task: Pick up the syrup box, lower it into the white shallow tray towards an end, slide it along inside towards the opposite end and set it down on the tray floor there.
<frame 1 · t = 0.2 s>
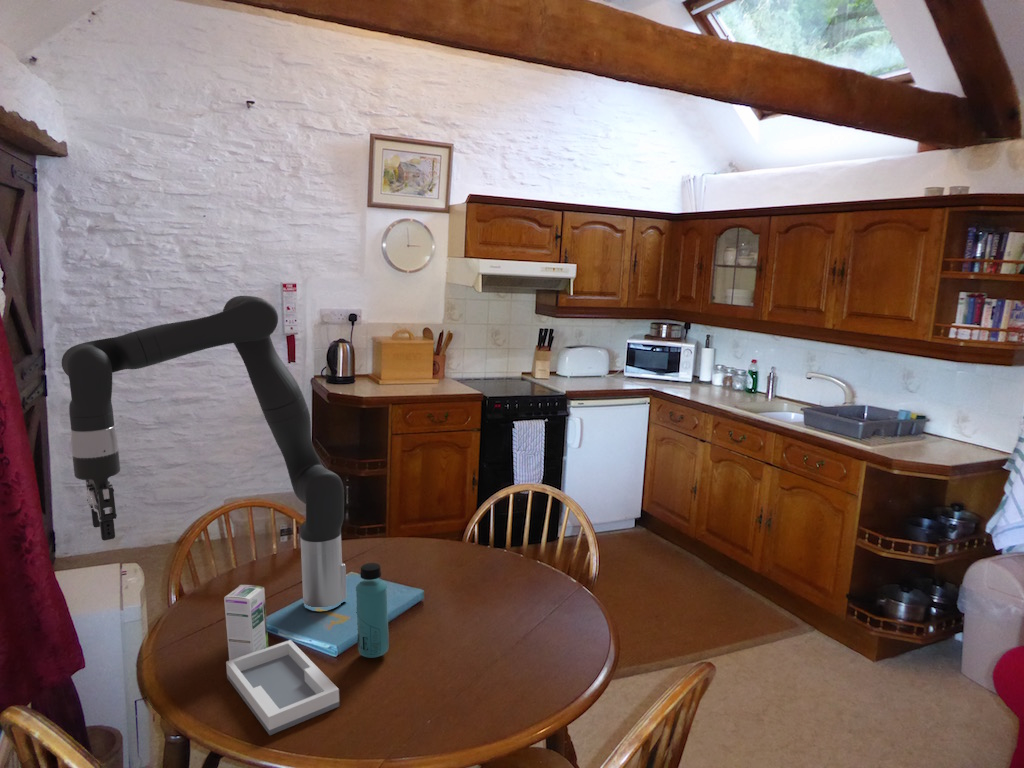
hand: (103, 532, 137), 29 cm above the table, tool pointing down, fingers open, 8 cm apart
syrup box: (248, 657, 147), on the table
white shallow tray: (281, 691, 135), on the table
beverage bottle: (373, 657, 148), on the table
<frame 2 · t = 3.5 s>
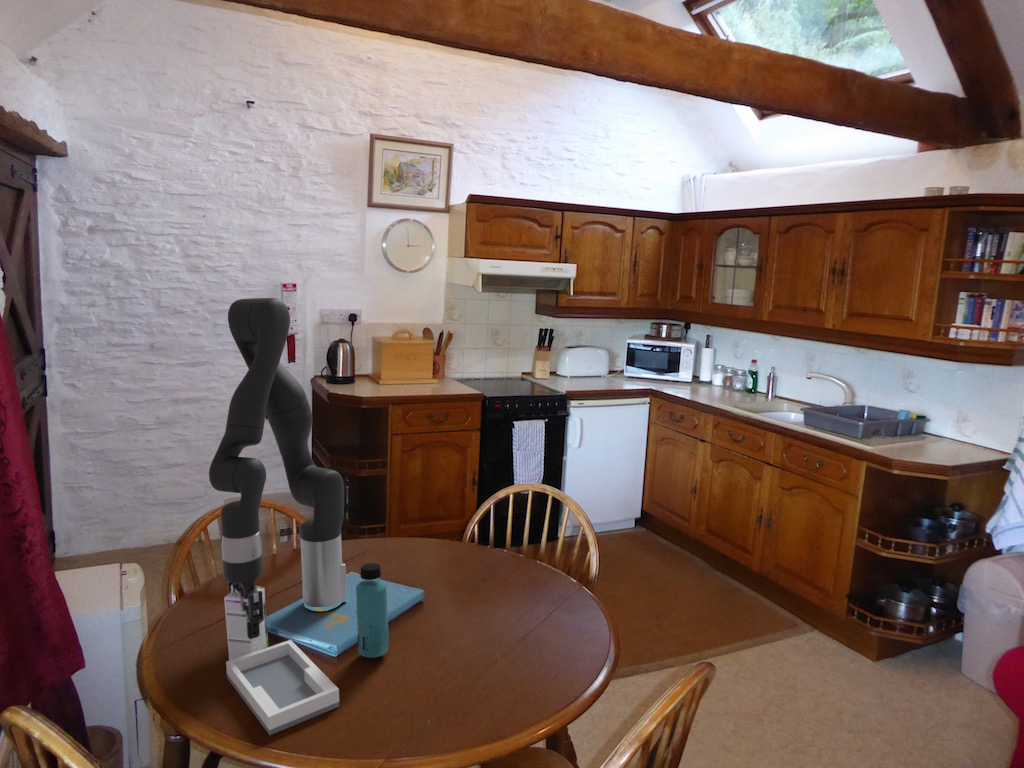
hand: (246, 629, 146), 6 cm above the table, tool pointing down, fingers closed on syrup box, 7 cm apart
syrup box: (248, 657, 147), on the table, touching gripper
everything else where it was.
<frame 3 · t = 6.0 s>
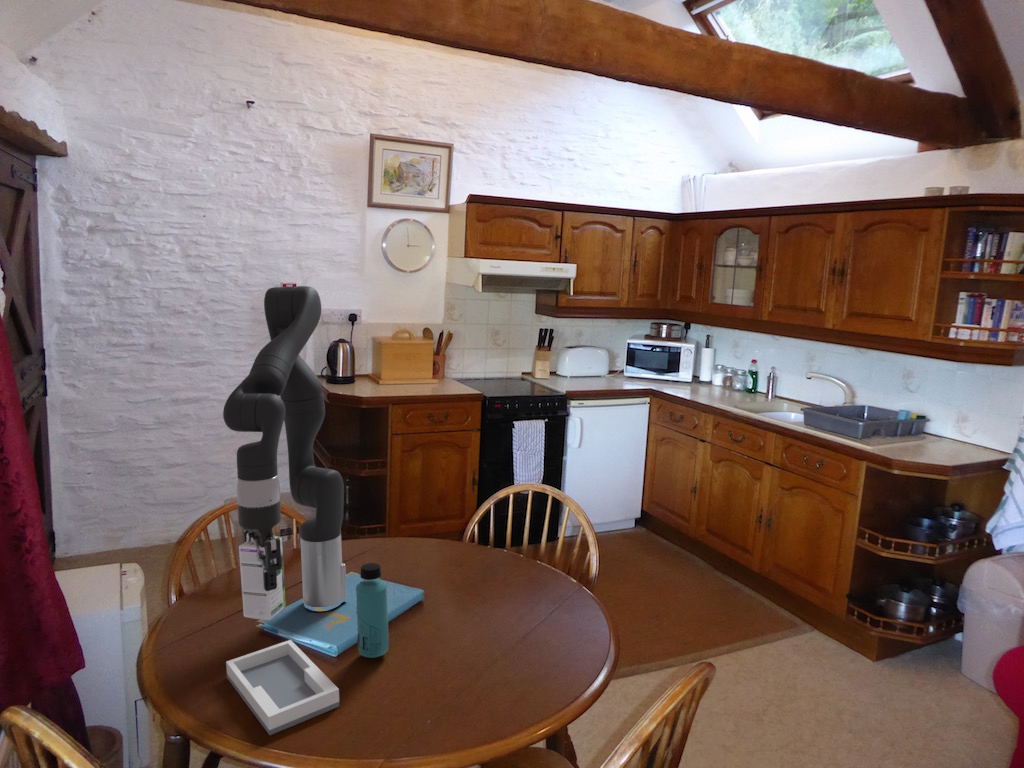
hand: (262, 581, 136), 20 cm above the table, tool pointing down, fingers closed on syrup box, 7 cm apart
syrup box: (264, 613, 137), point 14 cm above the table, touching gripper
everything else where it was.
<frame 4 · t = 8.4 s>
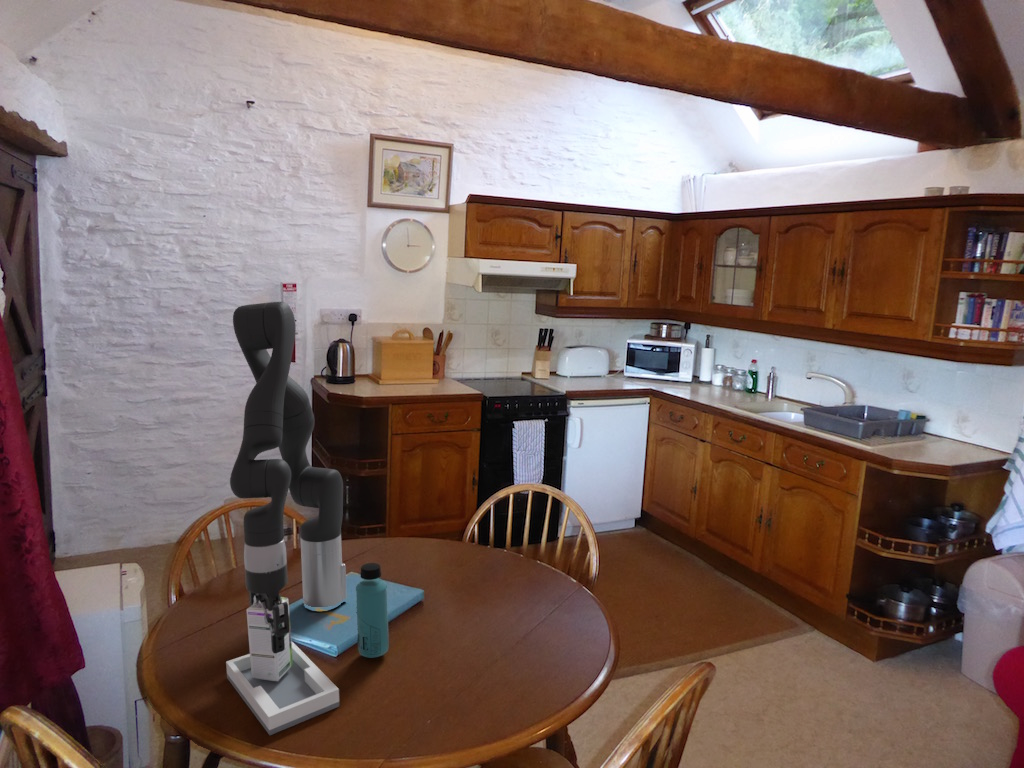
hand: (270, 642, 137), 8 cm above the table, tool pointing down, fingers closed on syrup box, 7 cm apart
syrup box: (272, 672, 138), point 2 cm above the table, touching gripper
everything else where it was.
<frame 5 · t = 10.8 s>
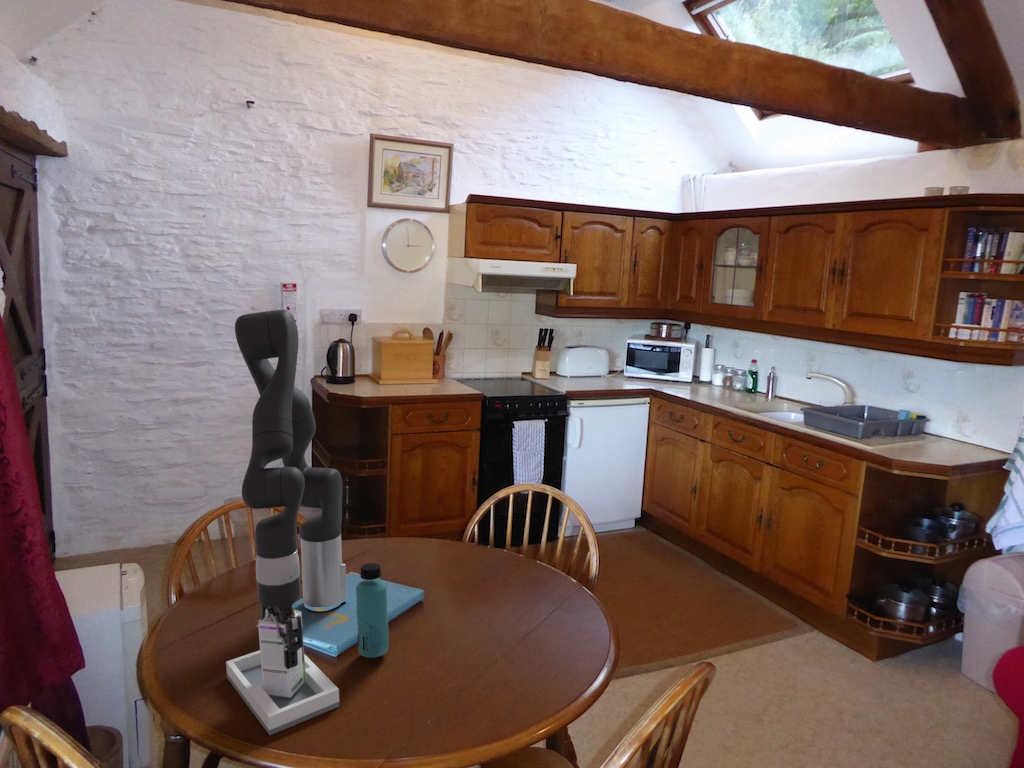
hand: (282, 657, 132), 8 cm above the table, tool pointing down, fingers closed on syrup box, 7 cm apart
syrup box: (284, 688, 134), point 2 cm above the table, touching gripper
everything else where it was.
when the fingers open (7 cm above the table, at t = 13.3 s): syrup box stays where it is, resting on white shallow tray.
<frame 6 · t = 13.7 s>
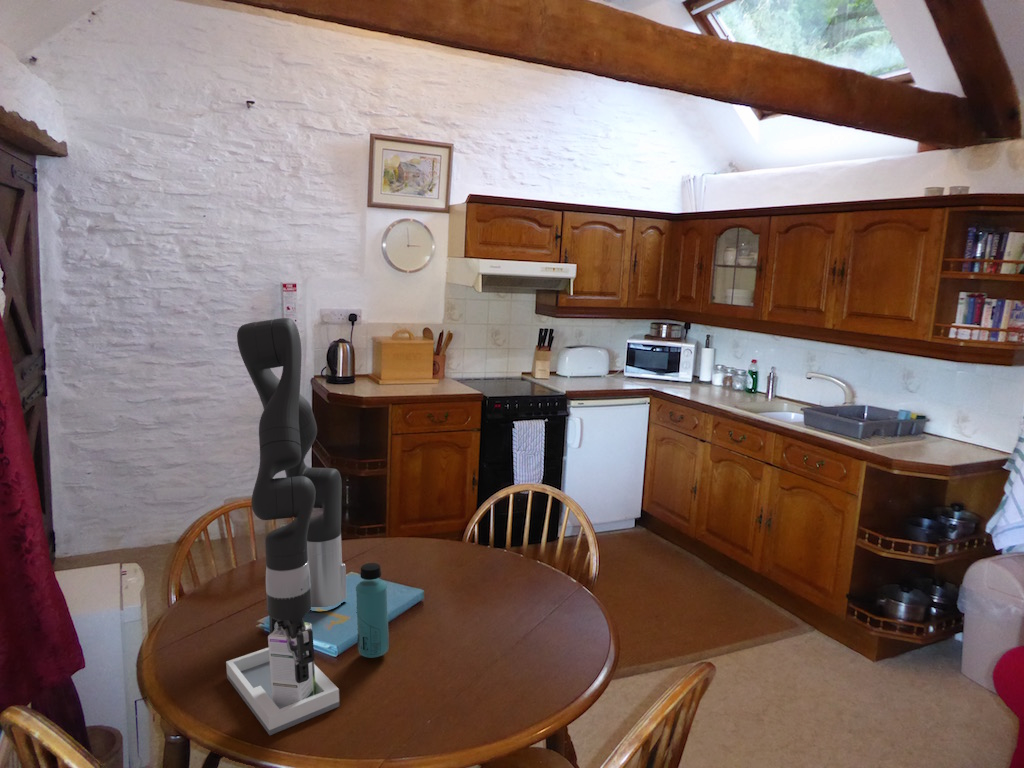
hand: (292, 670, 129), 7 cm above the table, tool pointing down, fingers open, 8 cm apart
syrup box: (294, 702, 131), point 1 cm above the table, touching white shallow tray
everything else where it was.
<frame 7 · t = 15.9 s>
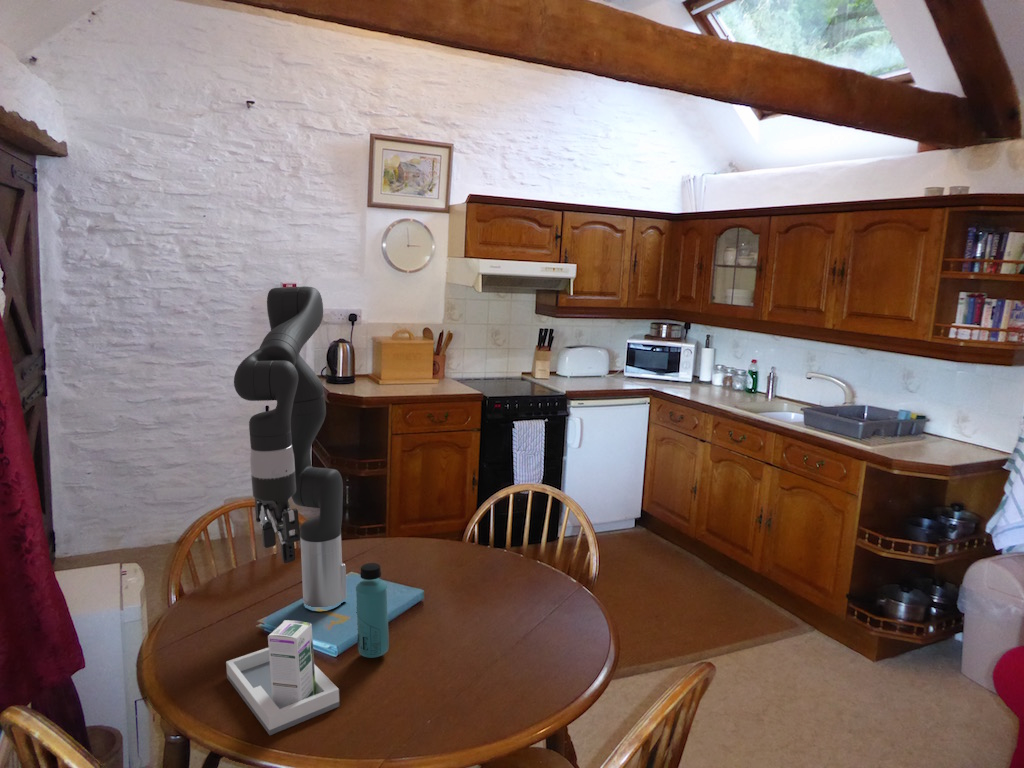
hand: (279, 553, 132), 27 cm above the table, tool pointing down, fingers open, 8 cm apart
nothing on the table moved.
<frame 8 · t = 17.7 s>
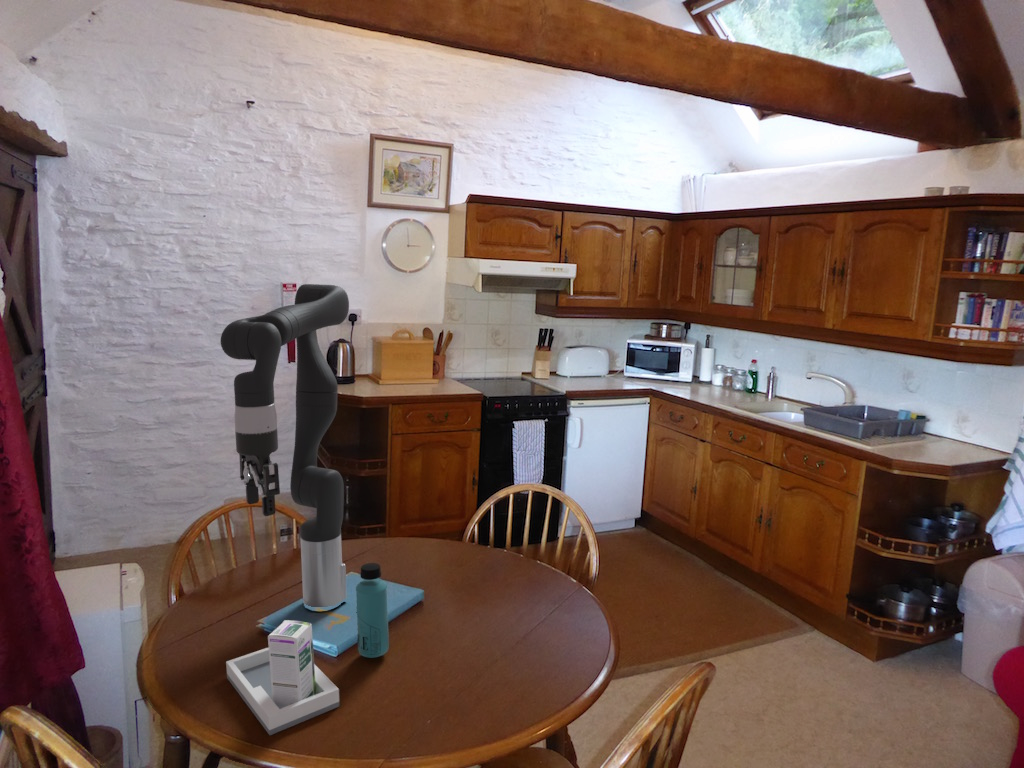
hand: (260, 508, 138), 33 cm above the table, tool pointing down, fingers open, 8 cm apart
nothing on the table moved.
at the end: syrup box 0.6 cm from the target spot on the white shallow tray, point 0.8 cm above the white shallow tray's base; syrup box tilted 0°; the gripper is holding nothing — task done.
